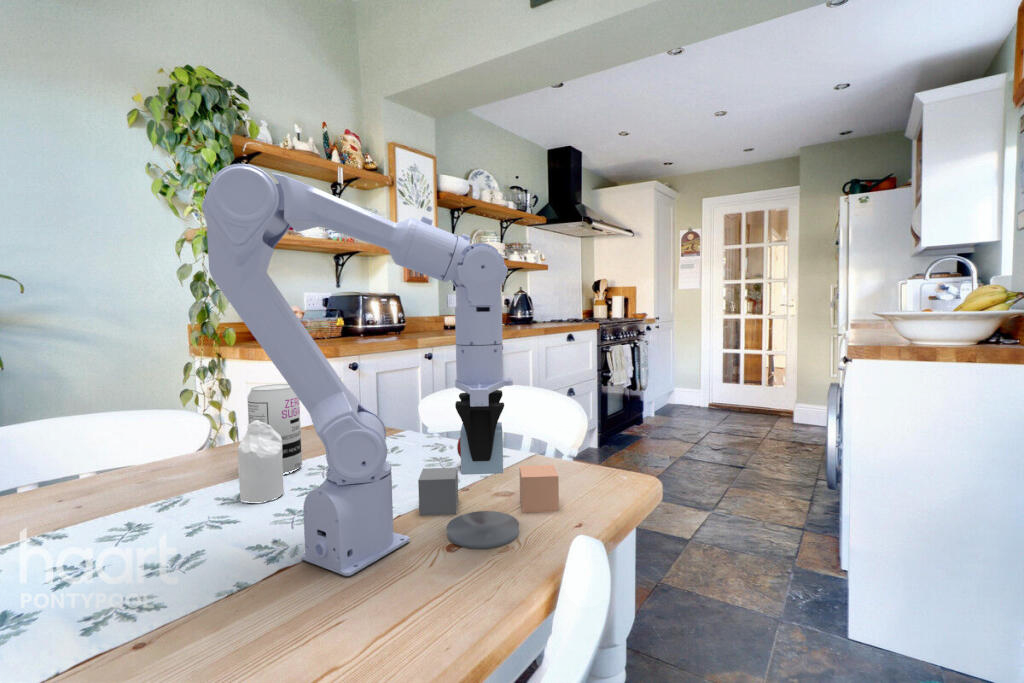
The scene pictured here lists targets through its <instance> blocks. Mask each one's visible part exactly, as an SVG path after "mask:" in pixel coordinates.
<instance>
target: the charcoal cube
mask: <svg viewBox="0 0 1024 683" xmlns="http://www.w3.org/2000/svg"><path fill="white" fill-rule="evenodd" d="M458 470H459V469H458V467H433V468H429V467H427V468H422V470H421V472H420V476H419V478H418V479H417V480H418V481H417V482H418V484H417V486H418V510H419V512H418V513H419V514H418V515H419V517H420V516H421V517H423V516H424V517H425V516H443V515H444V516H447V515H449V516H450V515H457V512H458V506H459V475H458V473H459V471H458Z"/></svg>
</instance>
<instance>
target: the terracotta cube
mask: <svg viewBox="0 0 1024 683" xmlns="http://www.w3.org/2000/svg"><path fill="white" fill-rule="evenodd" d="M559 498H560V496H559V474H558V472H557V469H556V467H555V465H554V464H544V465H542V464H540V465H538V464H537V465H519V499H520V505H521V511H522V513H548V512H549V513H551V512H554V511H555V512H559V510H560V505H559V504H560V503H559V502H560V501H559V500H560V499H559Z"/></svg>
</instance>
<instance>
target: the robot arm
mask: <svg viewBox="0 0 1024 683" xmlns="http://www.w3.org/2000/svg"><path fill="white" fill-rule="evenodd" d="M271 174H272V176H273V177H274V178H275V180H276V181H277V182H278V183H275V181H274V180H273V178H272V177H271V176H270V175H269V174H268V173H267V172H265V171H264V170H262V169H260V168H259V167H257V166H255V165H253V164H249V163H248V164H246V163H233V164H230V165H228V166H226V167H223V168H222V169H220V170H219V171H218V172H217V173H216V174H215V175H214V176H213V177H212V179H211V181H210V183H209V185H208V189H206V190H207V191H206V193H205V196H204V198H203V200H202V202H201V210H202V213H203V215H204V219H205V223H206V236H207V237H206V238H207V239H206V240H207V253H208V254H207V255H208V256H207V257H208V269H209V270H208V271H209V274H210V276H211V277H212V278H211V279H213V281H214V283H215V284H216V285H217V287H218V288H219V290H220V291H221V293H222V294H223V295H224V296H225V298H226V300H227V301H228V302H229V303H230V305H231V307H232V308H233V309H234V311H235V312H236V313H237V314H238V316H239V317H240V319H241V321H243V324H245V326H246V327H247V328H248V330H249V332H250V333H251V334H252V336H253V337H254V338H255V340H256V341H257V342H258V344H259V346H261V348H262V350H263V351H264V352H265V353H266V355H267V357H268V358H269V359H270V360H271V362H272V363H273V365H274V366H275V368H276V369H277V370H278V372H279V373H280V375H281V376H282V377H283V379H284V380H285V381H286V384H289V386H290V387H291V388H292V390H293V391H294V393H295V394H296V395H297V397H298V398H299V402H301V404H302V405H303V406H304V408H305V409H306V411H307V412H308V413H309V417H310V419H311V423H312V424H313V428H314V430H315V433H316V435H317V436H318V438H319V440H320V441H321V443H322V444H323V447H324V449H325V458H326V464H327V466H328V468H327V469H326V470H327V471H326V475H325V476H326V478H325V479H324V481H323V482H322V483H321V484H320V485H319V486H317V487H316V488H314V489H312V490H310V492H308V493H307V495H306V496H305V499H304V502H303V530H304V552H303V553H301V555H300V559H301V560H303V561H305V562H308V563H310V564H313V565H316V566H319V567H322V568H324V569H326V570H329V571H331V572H334V573H336V574H340V575H342V576H344V577H351V576H352V575H354V574H355V573H357V572H359V571H361V570H363V569H365V568H366V567H368V566H369V565H371V564H373V563H375V562H376V561H378V560H379V559H381V558H384V557H385V556H387V555H388V554H390V553H392V552H393V551H396V550H397V549H398V548H400V547H402V546H403V545H405V544H407V543H409V542H410V536H407V535H405V534H401V533H398V532H394V510H393V508H394V507H393V483H392V482H393V480H392V479H393V477H392V465H391V464H390V463H389V462H388V461H387V457H388V444H387V441H386V436H387V431H386V429H387V428H386V425H385V423H384V422H383V420H382V418H381V416H379V415H378V414H377V413H375V412H373V411H371V410H369V409H367V408H365V407H364V406H363V405H362V403H361V402H360V400H359V399H358V398H357V397H356V396H355V394H354V393H353V392H351V391H350V389H349V388H348V387H347V385H345V383H344V382H343V380H342V379H341V377H340V376H339V375H338V374H337V371H336V370H335V369H334V368H333V366H332V364H331V363H330V361H328V359H327V358H326V356H325V354H324V353H323V352H322V350H321V349H320V348H319V346H318V344H317V343H316V342H315V340H314V338H313V337H312V336H311V334H310V333H309V331H308V330H307V329H306V327H305V326H304V324H303V323H302V322H301V320H300V319H299V317H298V316H297V314H296V313H295V311H294V310H293V309H292V307H291V305H290V304H289V303H288V301H287V300H286V298H285V297H284V295H283V294H282V292H281V291H280V289H278V287H277V285H276V284H275V283H274V281H273V279H272V278H271V277H270V275H269V274H268V269H269V265H270V263H271V259H272V256H273V254H274V249H275V247H276V246H277V245H278V243H279V242H280V241H281V240H282V238H284V236H285V235H286V233H287V232H288V231H289V230H290V227H291V228H292V229H293V230H294V231H295V232H296V233H299V232H303V231H308V230H311V229H315V228H318V227H320V228H323V229H326V230H329V231H333V232H335V233H339V234H342V235H345V236H348V237H350V238H353V239H356V240H359V241H361V242H362V241H363V242H365V243H368V244H371V245H373V246H377V247H379V248H380V247H381V248H383V249H386V250H387V251H388V252H389V254H390V256H391V259H392V261H393V262H394V264H395V265H397V266H399V267H402V268H405V269H408V270H411V271H413V272H417V273H418V274H419V273H420V274H422V275H425V276H427V277H429V278H432V279H435V280H438V281H441V282H442V283H447V282H449V281H451V283H452V284H453V286H454V287H455V301H456V302H455V307H454V318H455V322H454V324H455V329H454V330H455V362H456V363H455V365H456V367H455V369H456V374H455V375H456V379H455V381H454V387H455V388H456V389H458V390H460V391H462V392H461V393H459V394H458V398H459V399H460V400H458V401H457V400H456V401H455V405H454V407H455V409H456V412H457V414H458V416H459V417H460V420H461V422H462V423H463V425H464V428H465V431H466V435H467V440H468V445H469V450H470V454H471V458H472V461H490V458H491V454H492V449H493V442H494V435H495V430H496V426H497V422H498V421H499V419H500V417H501V414H502V413H503V411H504V408H505V402H501V400H502V397H503V390H501V389H502V388H503V387H509V386H513V384H514V383H513V382H514V381H513V378H510V377H509V378H507V377H505V378H504V352H503V348H504V347H503V346H504V345H503V343H504V342H503V340H504V339H503V307H502V293H501V292H502V290H501V289H502V287H501V286H502V285H503V283H504V282H505V280H506V277H507V275H508V271H509V270H508V268H509V267H508V266H507V265H506V263H505V259H504V257H503V255H502V254H501V253H500V252H499V250H498V249H497V248H496V247H495V246H493V245H491V244H489V243H485V242H478V243H473V244H471V243H470V242H471V236H470V235H468V234H465V233H463V234H461V236H459V235H456V234H455V233H452V232H449V231H447V230H444V229H442V228H439V227H437V226H434V225H432V224H433V219H431V218H429V217H426V216H421V219H420V220H419V219H417V218H414V217H409V218H407V219H404V220H401V221H399V222H394V221H392V220H389V219H388V218H386V217H383V216H381V215H378V214H376V213H374V212H372V211H370V210H367V209H365V208H363V207H360V206H358V205H356V204H353V203H350V202H349V201H346V200H345V199H342V198H340V197H337V196H335V195H332V194H330V193H328V192H326V191H324V190H321V189H319V188H317V187H315V186H313V185H309V184H307V183H304V182H302V181H300V180H296V179H294V178H292V177H290V176H287V175H284V174H280V173H276V172H271Z"/></svg>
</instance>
